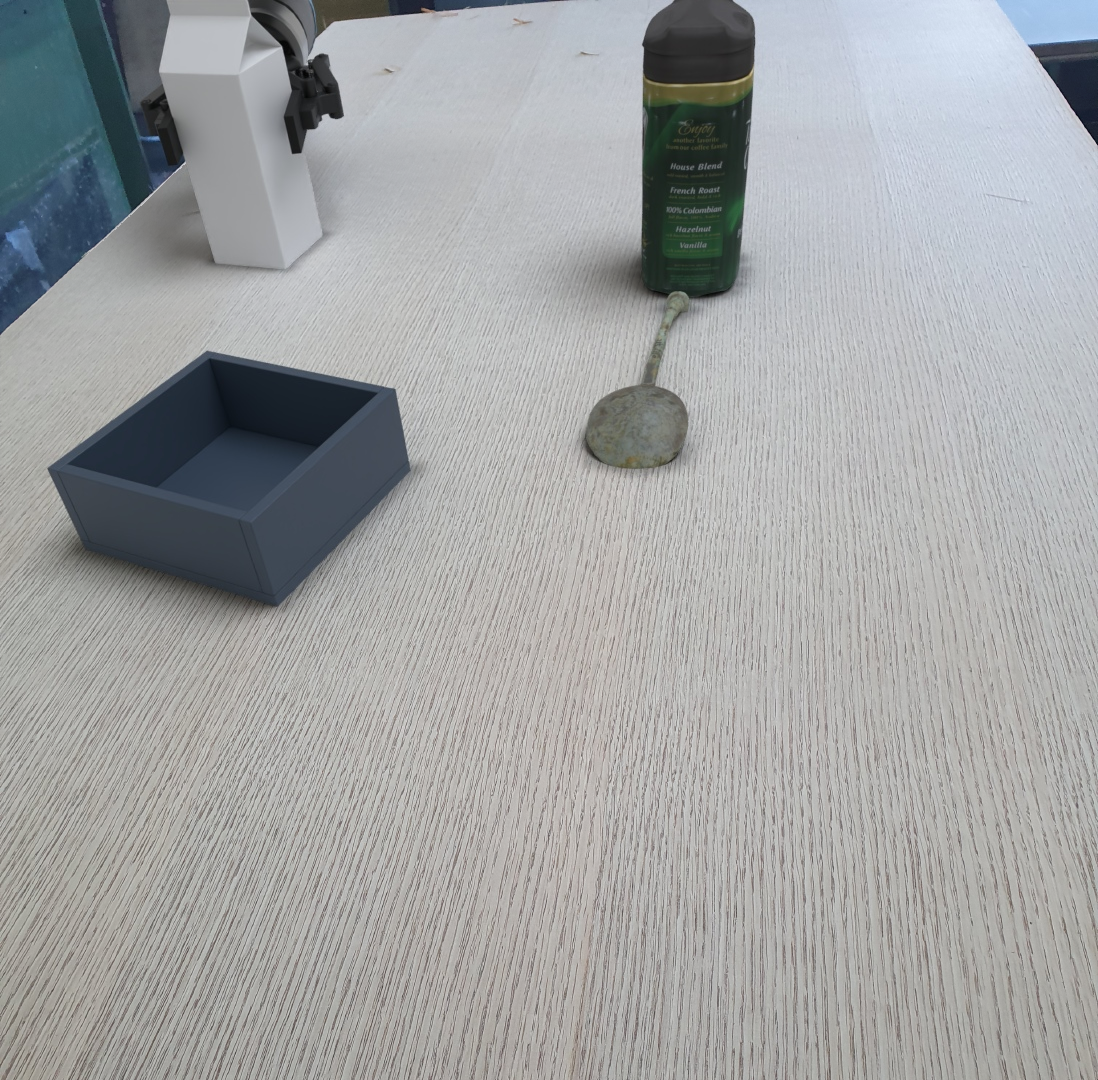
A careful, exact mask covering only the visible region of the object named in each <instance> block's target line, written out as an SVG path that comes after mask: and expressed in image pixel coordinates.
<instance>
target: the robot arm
mask: <svg viewBox="0 0 1098 1080" xmlns="http://www.w3.org/2000/svg"><path fill="white" fill-rule="evenodd" d="M248 4H249V8H250V12H251V16H252V17H253V18H254V19H255V20H256V21H257V22H258V23H259V24H260V25H261V26H262V27H263V28H264V29H265V30H266V31H267V32H268V33H269V34H270V35H271V36H272V37H273V38H274V39H275V40H276V41H277V42H278V43H279V44H280V45H281V46H282V49H283V53H284V57H285V62H286V67H287V71H288V76H289V80H290V85H291V90H292V92H291V95H290V98H289V101H288V104H287V108H286V111H285V114H284V121H285V125H286V130H287V134H288V139H289V143H290V148H291V152H292V154H299V153H302V149H303V145H305V141H306V137H307V133H308V131H310V130H316V129H317V128H318V127H319V124H320V123H321V122H322V121H323V116H325V115H328V116H329V118H330V119H332V120H340V119H342V118H344V117H345V112H344V107H343V102H342V97H341V91H340V86H339V82H338V80H337V79H336V77H335V76H334V74H333V72H332V67H331V62H330V55H329V54H326V53H322V52H321V53H319V54H317V55H315V56H314V57H313V58H310V59H309V57H310V55H311V53H312V51H313V49H314V45H315V42H316V35H317V31H318V29H317V28H318V27H317V20H316V19H317V17H316V11H315V8H314V4H313V1H312V0H248ZM139 104H140V105H139V106H140V108H141V111H142V115H143V119H144V121H145V124H146V127H147V131H148V134H149V135H150V136H152V137H153V136H155V137H157V136H158V139H159V142H160V143H161V146H162V150H163V152H164V156H165V159H166V163H167V166H168V167H171V166H179V163H180V161H181V159H182V157H183V156H184V155H183V151H182V147H181V144H180V140H179V137H178V134H177V130H176V127H175V123H174V120H173V117H172V114H171V111H170V107H169V104H168V100H167V97H166V94H165V90H164V87H163V83H162V84H160V85H159V86H157V88H156V89H154V90H152V91H151V92H150V93H149V94H147V96H145V97H144V98H143V99H141V100H139Z"/></svg>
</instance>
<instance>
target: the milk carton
mask: <svg viewBox="0 0 1098 1080" xmlns="http://www.w3.org/2000/svg"><path fill="white" fill-rule="evenodd" d="M165 1H166V4H167V7H168V11H169V14H170V15H169V20H168V26H167V30H166V33H165V34H166V35H165V39H164V44H163V48H162V49H163V50H162V54H161V59H160V63H159V69H158V73H159V77H160V80H161V83H162V84H163V87H164V90H165V94H166V97H167V100H168V104H169V107H170V111H171V114H172V117H173V120H174V123H175V127H176V130H177V134H178V137H179V140H180V144H181V147H182V151H183V155H182V156H183V158H184V162H185V165H186V169H187V171H188V175H189V178H190V182H191V186H192V189H193V192H194V195H195V199H196V203H197V206H198V209H199V213H200V216H201V219H202V223H203V226H204V230H205V233H206V236H207V241H208V243H209V246H210V250H211V254H212V257H213V260H214V263H215V264H219V265H229V266H240V267H252V268H264V269H275V270H286V269H289V267H290V266H292V264H293V263H295V262H296V261H297V260H298V259H299V258H300V257H301V256H302V255H304V253H305V252H307V251H308V250H309V249H310V248H311V247H312V246H313V245H315V243H316V242H318V241H319V240H320V239H321V238H322V237H323V236H324V235H323V234H324V233H323V230H322V229H323V228H322V225H321V220H320V215H319V210H318V206H317V201H316V196H315V193H314V188H313V183H312V179H311V173H310V170H309V164H308V160H307V155H306V150H305V146H304V145H305V144H304V145H303V149H302V153H299V154H292V152H291V148H290V143H289V139H288V134H287V130H286V125H285V121H284V114H285V111H286V108H287V104H288V101H289V98H290V95H291V92H292V90H291V85H290V80H289V76H288V71H287V67H286V62H285V57H284V53H283V49H282V46H281V45H280V44H279V43H278V42H277V41H276V40H275V39H274V38H273V37H272V36H271V35H270V34H269V33H268V32H267V31H266V30H265V29H264V28H263V27H262V26H261V25H260V24H259V23H258V22H257V21H256V20H255V19H254V18H253V17H252V16H251V12H250V8H249V4H248V0H165Z"/></svg>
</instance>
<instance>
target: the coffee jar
mask: <svg viewBox="0 0 1098 1080" xmlns="http://www.w3.org/2000/svg"><path fill="white" fill-rule="evenodd" d="M641 47H643V56H642V57H643V59H642V114H641V115H642V120H641V121H642V122H641V123H642V126H641V127H642V129H641V131H642V132H641V134H642V136H641V149H642V150H641V152H642V153H641V199H642V200H641V235H640V239H641V241H640V242H641V243H640V244H641V245H640V247H641V248H640V249H641V251H640V253H641V254H640V259H641V261H640V263H641V265H640V267H641V268H640V269H641V272H640V273H641V278H642V282H643V284H644V285H645V286H646V287H647V289H649V290H651V291H656V292H660V293H663V294H667V295H670V294H671V293H672V292H679V291H681V292H684V293H686V295H687V296H688V297H689V298H694V297H702V296H705V295H708V294H709V295H710V294H714V293H718V292H724V291H727V290H728V289H729V288H731V287H732V286H733V284H734V283H735V282H736V280H737V277H738V273H739V270H740V263H741V262H740V261H741V250H742V243H743V242H742V240H743V229H744V228H743V226H744V214H745V213H744V212H745V201H746V190H747V179H748V169H749V156H750V145H751V143H750V142H751V130H752V129H751V127H752V115H753V99H754V97H753V96H754V76H755V75H754V74H755V63H756V62H755V60H756V59H755V57H756V56H755V51H756V50H755V49H756V24H755V20H754V17H753V15H752V14H751V12H749V11H747V9H745V8H744V7H742V6H741V5H740V4H738V3H737V2H735V1H734V0H673V1H672V2H671V3H670V4H669V5H667V6H665V7H663V8H662V9H661V10H659V11H658V12H657V13H655V15H653V16H652V17H651V20H650V21H649V22H648V25H647V26H646V30H645V33H644V36H643V40H642V43H641Z"/></svg>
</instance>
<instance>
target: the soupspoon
mask: <svg viewBox="0 0 1098 1080" xmlns="http://www.w3.org/2000/svg"><path fill="white" fill-rule="evenodd" d="M690 303H691V301H690V297H688V296H687V295H686V293H684V292H681V291H679V292H672V293H671V294H668V296H667V297H666V307H667V308H666V309H665V315H664V317H663V319H662V322H661V324H660V326H659V329H658V332H657V334H656V337H655V341H654V343H653V346H652V349H651V352H650V355H649V357H648V361H647V363H646V366H645V369H644V373H643V376H642V380H641V382H640V384H635V385H630V386H626V387H621V388H619V389H617V390H614V391H612V392H610V393H608V394H606V395H604V396H603V397H602V398H601V399H599V400H598V401H597V403H596V404H595V405H594V406H593V407H592V409H591V410H590V412H589V415H588V419H587V423H586V431H585V432H586V433H585V438H586V443H587V445H588V446H589V448H590V449H591V450H590V451H591V452H593V455H594V456H595V457H596V458H597V459H598V460H599V461H600V462H602V463H604V464H605V465H607V466H610V467H613V468H619V469H627V470H628V469H629V470H643V469H644V470H645V469H653V468H654V469H655V468H659V467H662V466H665V465H666V464H668V463H670V461H671V460H673V459H674V458H675V457H676V456H677V455H678V453H679V451H681V449H682V447H683V445H684V442H685V441H686V437H687V434H688V430H689V415H688V409H687V407H686V405H685V402H683V400H682V398H681V397H679V395H677V394H676V393H674V392H673V391H671V390H669V389H667V388H665V387H661V386H657V385H656V384H657V383H656V382H657V377H658V373H659V369H660V366H661V361H662V358H663V354H664V350H665V346H666V343H667V339H668V335H669V332H670V329H671V327H672V323H673V320H675V319H676V318H677V317H678V314H679V313H686V312H687V311H688V309H689V308H690V306H691V305H690Z"/></svg>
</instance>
